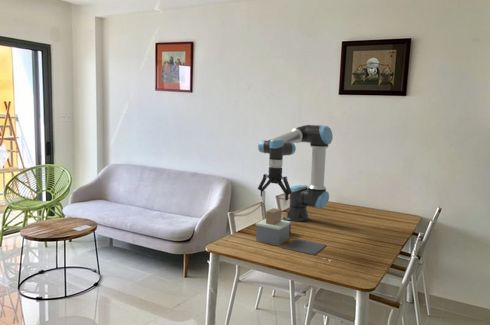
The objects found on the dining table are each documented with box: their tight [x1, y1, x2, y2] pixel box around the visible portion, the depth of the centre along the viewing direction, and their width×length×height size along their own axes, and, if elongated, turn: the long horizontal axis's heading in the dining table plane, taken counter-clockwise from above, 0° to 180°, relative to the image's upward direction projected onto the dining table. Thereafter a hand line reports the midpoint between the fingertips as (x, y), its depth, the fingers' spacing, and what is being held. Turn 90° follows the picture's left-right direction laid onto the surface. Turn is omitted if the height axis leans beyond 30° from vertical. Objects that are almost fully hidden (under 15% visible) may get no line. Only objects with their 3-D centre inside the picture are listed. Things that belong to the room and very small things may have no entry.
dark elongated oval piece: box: [281, 215, 292, 235], centre depth 237 cm, size 9×3×11 cm, turn 109°
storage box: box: [255, 224, 290, 246], centre depth 225 cm, size 14×14×9 cm
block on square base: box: [255, 207, 292, 230], centre depth 224 cm, size 15×15×10 cm
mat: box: [282, 238, 327, 256], centre depth 214 cm, size 18×18×1 cm
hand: (273, 204), depth 222 cm, fingers open, 13 cm apart
